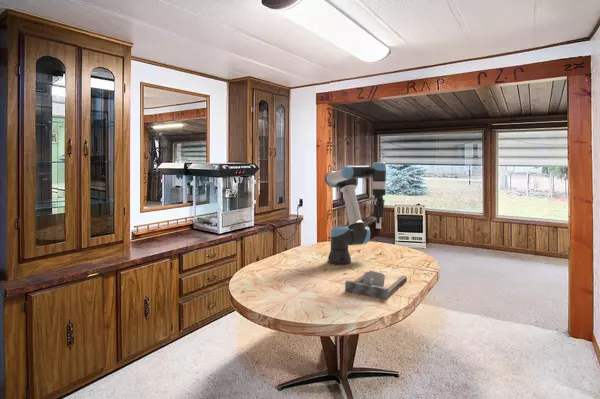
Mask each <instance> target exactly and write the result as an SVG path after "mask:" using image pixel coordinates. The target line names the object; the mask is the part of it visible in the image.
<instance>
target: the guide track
mask: <svg viewBox="0 0 600 399" xmlns="http://www.w3.org/2000/svg"><path fill="white" fill-rule="evenodd" d="M370 271H371V272H375V270H369V271H368V272H370ZM407 280H408V276H407V275H406V276H405V275H402V276H400V277H399V278H398V279H397V280H396V281H394V282H393V283H392V284H390V285H389V287H386V286H383V287H381V286H375V285H370V284H364V274H363V275H361V276H360V277H358V278H357V279H355V280H348V279H347V280H346V281H345V282H344V286H345V287H344V291H345V292H348V293H352V294H353V293H354V294H358V295H363V296H366V297H367V296H368V297H373V298H379V299H383V300H388V299H389V298H390V296H392V295H393V294H394V293H395V292H397V290H398V289H400V288H401V287H402V285H404V284H405V283H406V282H407Z"/></svg>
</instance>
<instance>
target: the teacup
mask: <svg viewBox="0 0 600 399" xmlns="http://www.w3.org/2000/svg"><path fill="white" fill-rule="evenodd" d="M369 271H370V272H369ZM369 271H365V272H363V275H364V284H370V285H375V286H381V287H385V277H386V275H385V274H384V273H383V272H378V271H374V272H371V271H372V270H369Z"/></svg>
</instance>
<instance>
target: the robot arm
mask: <svg viewBox="0 0 600 399" xmlns="http://www.w3.org/2000/svg"><path fill="white" fill-rule="evenodd" d="M386 164H387V163H385V161H382V162H381V161H379V162H377V161H375V162H372V165H370V164H369V165H368V164H367V165H344V166H342V168H341V169H338V170H334V171H333V170H332V171H329V172H327V173H326V174H325V175H324V183H325V184H326V185H327V186H328V187H330V188H337V189H338V188H339V191H340V192H341V193H342V195H343V200H344V204H345V209H346V213H347V218H348V225H338V226H333V227H331V229H330V234H329V235H330V236H329V237H330V251H329V254H328V258H327V262H328V263H329V264H332V265H339V266H340V265H348V264H350V263H352V258H351V255H350V254H351V253H350V251H349V246H357V245H358V246H359V245H361V246H362V245H366V244H368V243H369V242H370V238H371V230H370V227H369V226H366V223H365V222H364V221H363V220H362V215H361V211H360V207H359V203H358V198H357V194H356V189H357V187H358V185H359V179H372V182H371V183H372V184H371V186H372V189H371V190H372V191H371V192H372V196H374V200H372V204H373V214H374V218H375V229H379V230H381V229H382V218H383V217H384V216H383V215H384V206H385V199H384V196H386V195H387V194H386V193H387V192H386V191H387V190H386V186H387V183H386V182H387V181H386V178H387V166H386Z"/></svg>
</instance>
